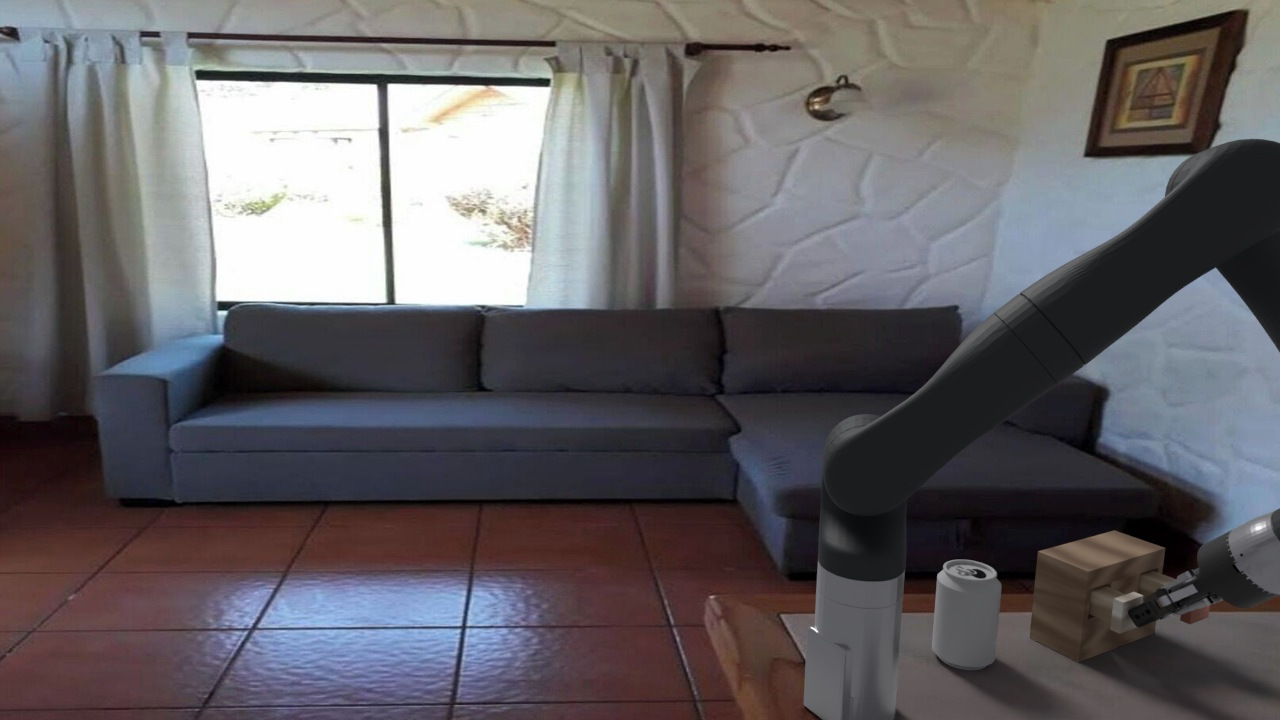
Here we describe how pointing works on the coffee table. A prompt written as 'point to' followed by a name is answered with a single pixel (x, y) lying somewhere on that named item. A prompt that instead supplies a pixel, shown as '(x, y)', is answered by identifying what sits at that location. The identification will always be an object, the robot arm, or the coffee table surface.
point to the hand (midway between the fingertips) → (1135, 618)
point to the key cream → (1114, 607)
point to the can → (966, 614)
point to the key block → (1088, 591)
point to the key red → (1156, 580)
